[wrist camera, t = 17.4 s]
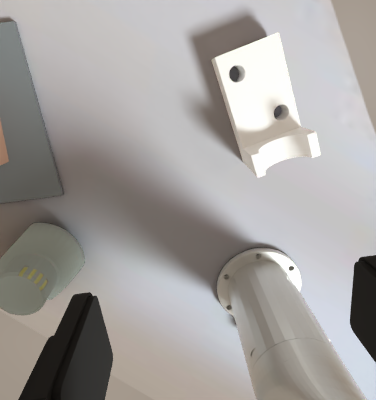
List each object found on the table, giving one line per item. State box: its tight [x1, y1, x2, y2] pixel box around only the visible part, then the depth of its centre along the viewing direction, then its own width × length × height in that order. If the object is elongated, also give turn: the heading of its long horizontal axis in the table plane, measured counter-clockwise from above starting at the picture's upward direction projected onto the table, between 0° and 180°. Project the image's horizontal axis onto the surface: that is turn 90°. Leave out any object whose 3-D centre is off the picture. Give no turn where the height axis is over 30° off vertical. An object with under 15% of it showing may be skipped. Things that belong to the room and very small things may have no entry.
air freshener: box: [0, 223, 85, 315], centre depth 39 cm, size 11×8×10 cm
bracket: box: [211, 32, 321, 178], centre depth 35 cm, size 13×7×8 cm, turn 20°
